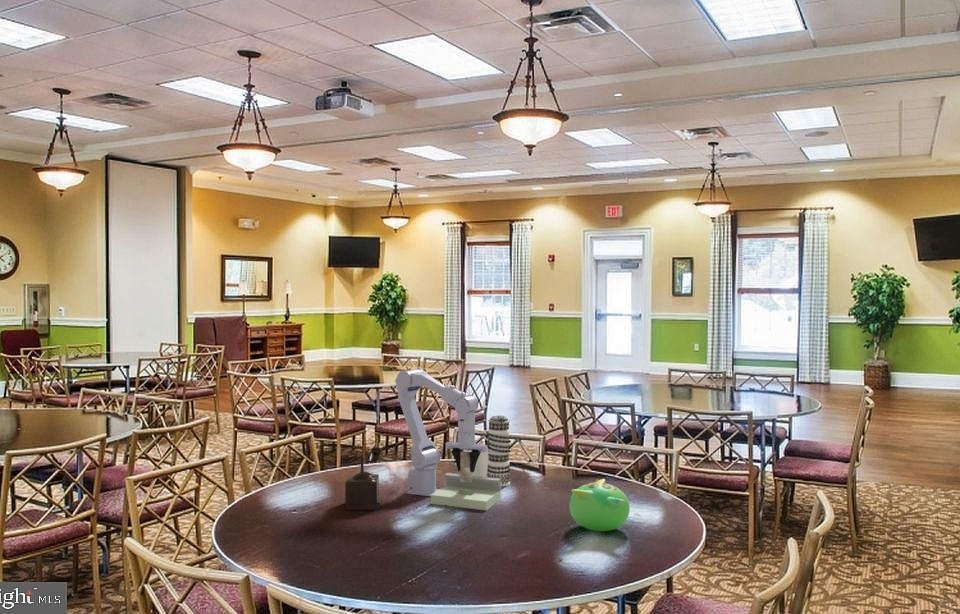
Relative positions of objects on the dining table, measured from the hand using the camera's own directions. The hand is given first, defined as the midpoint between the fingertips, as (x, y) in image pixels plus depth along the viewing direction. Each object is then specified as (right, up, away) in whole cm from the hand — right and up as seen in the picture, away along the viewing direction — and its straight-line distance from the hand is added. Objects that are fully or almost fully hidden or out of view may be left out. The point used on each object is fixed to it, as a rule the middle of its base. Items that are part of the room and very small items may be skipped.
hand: (466, 471), depth 249 cm
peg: (0, -3, 0) cm, 3 cm away
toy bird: (+41, -12, -28) cm, 51 cm away
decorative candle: (+12, -10, +23) cm, 27 cm away
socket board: (0, -10, 0) cm, 10 cm away
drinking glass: (+4, -10, +15) cm, 18 cm away
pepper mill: (-34, -11, -3) cm, 36 cm away
